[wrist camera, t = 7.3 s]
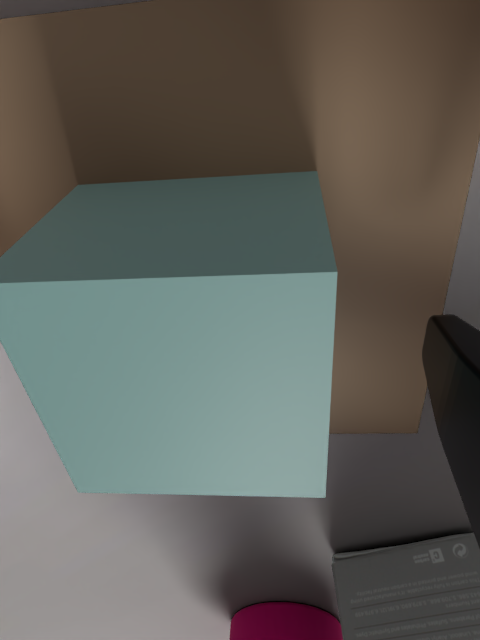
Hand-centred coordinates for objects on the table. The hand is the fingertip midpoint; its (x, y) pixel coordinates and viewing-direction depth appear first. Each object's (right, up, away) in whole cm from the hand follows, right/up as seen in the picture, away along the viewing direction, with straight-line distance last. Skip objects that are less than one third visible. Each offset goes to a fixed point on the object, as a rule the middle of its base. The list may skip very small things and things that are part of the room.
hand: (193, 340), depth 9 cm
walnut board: (0, +2, +3) cm, 3 cm away
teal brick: (0, +1, +2) cm, 2 cm away
